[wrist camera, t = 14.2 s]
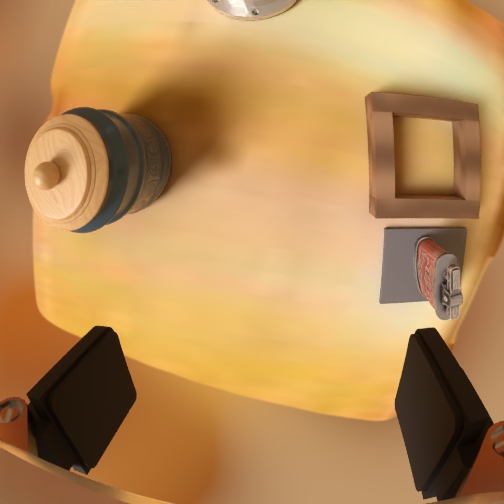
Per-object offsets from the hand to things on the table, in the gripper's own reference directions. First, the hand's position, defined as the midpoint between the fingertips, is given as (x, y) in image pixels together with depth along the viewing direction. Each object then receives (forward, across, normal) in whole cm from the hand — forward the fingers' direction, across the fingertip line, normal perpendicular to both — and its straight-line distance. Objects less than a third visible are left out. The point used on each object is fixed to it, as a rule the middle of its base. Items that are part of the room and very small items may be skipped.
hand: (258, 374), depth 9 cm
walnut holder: (+30, -17, -6) cm, 35 cm away
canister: (+31, +20, -7) cm, 37 cm away
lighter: (+30, -18, +8) cm, 36 cm away
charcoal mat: (+30, -18, +8) cm, 36 cm away
